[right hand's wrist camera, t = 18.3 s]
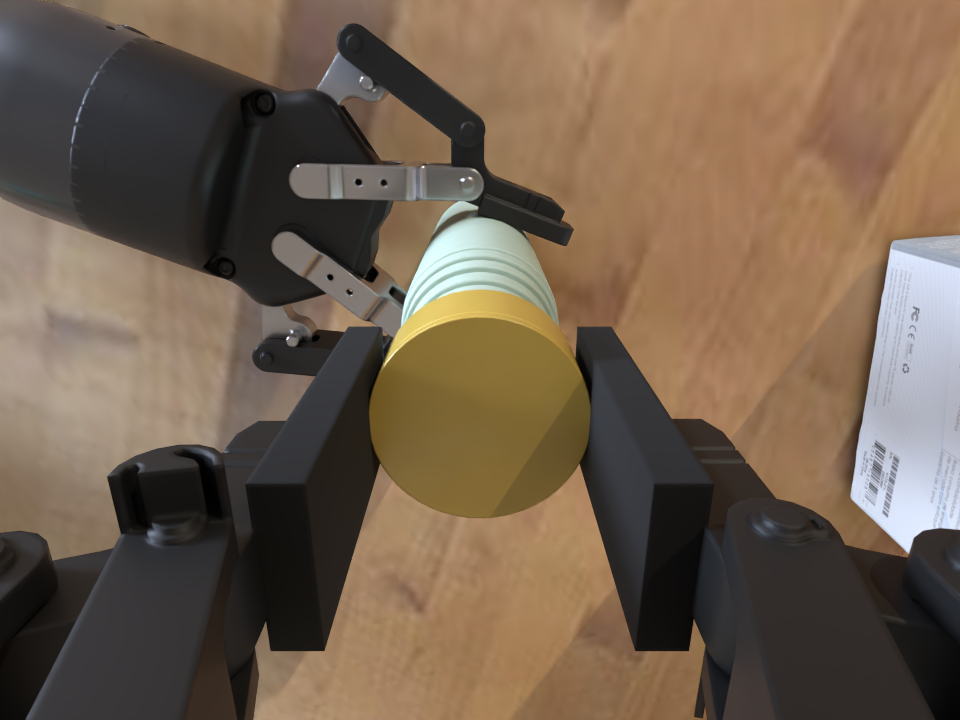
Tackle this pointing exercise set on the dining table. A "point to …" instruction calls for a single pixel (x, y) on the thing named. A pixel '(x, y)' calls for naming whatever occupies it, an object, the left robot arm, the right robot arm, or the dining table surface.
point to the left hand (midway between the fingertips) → (540, 294)
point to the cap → (479, 406)
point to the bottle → (478, 262)
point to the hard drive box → (914, 395)
